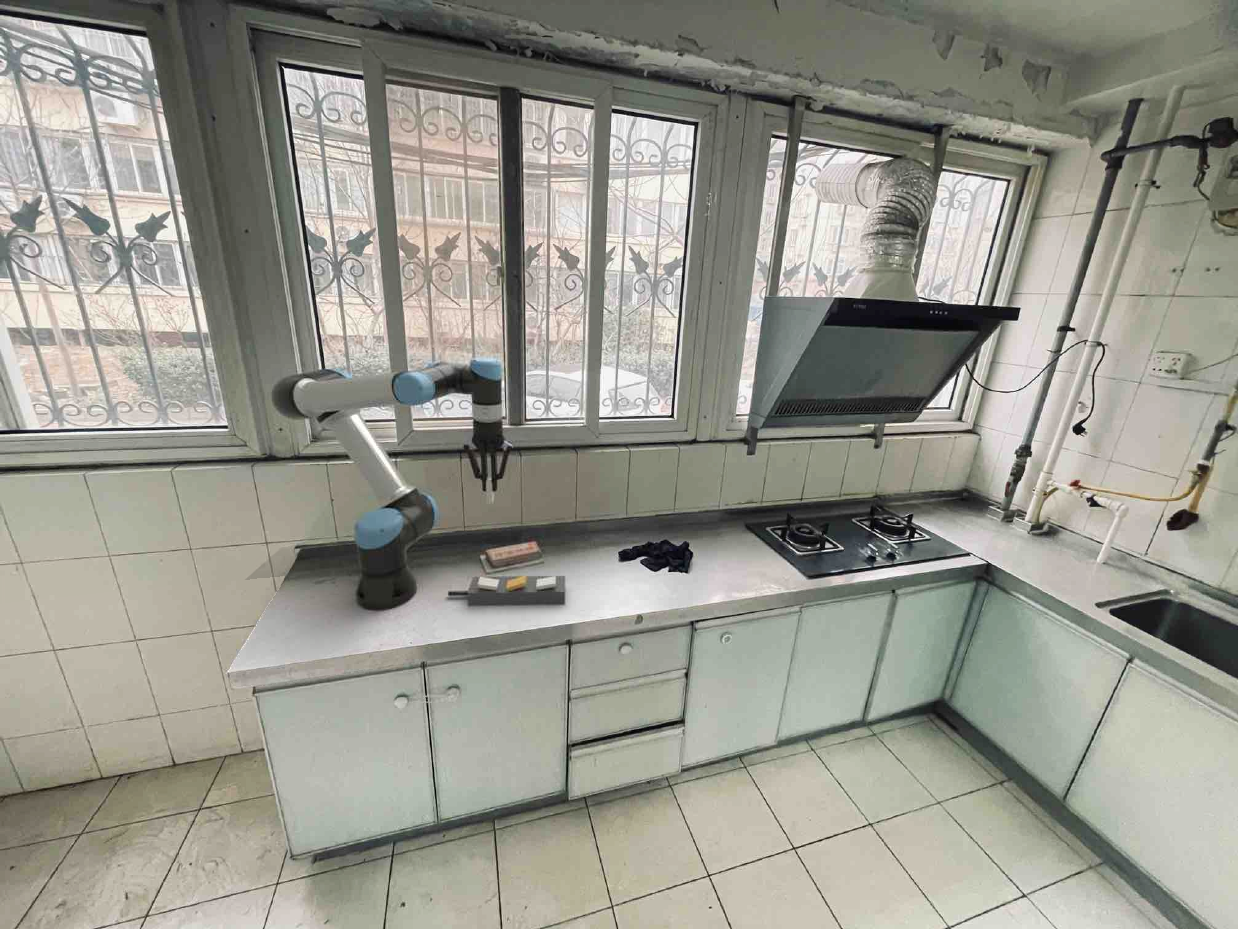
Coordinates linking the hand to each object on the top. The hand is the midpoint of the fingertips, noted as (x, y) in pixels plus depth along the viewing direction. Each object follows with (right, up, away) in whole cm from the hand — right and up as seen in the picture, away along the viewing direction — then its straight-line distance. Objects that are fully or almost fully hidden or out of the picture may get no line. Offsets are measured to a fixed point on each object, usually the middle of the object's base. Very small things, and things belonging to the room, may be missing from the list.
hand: (490, 501), depth 135 cm
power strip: (+4, -27, +2) cm, 27 cm away
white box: (0, -23, -1) cm, 23 cm away
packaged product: (+1, -21, +20) cm, 29 cm away
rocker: (+16, -23, 0) cm, 28 cm away
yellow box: (+8, -23, 0) cm, 24 cm away
